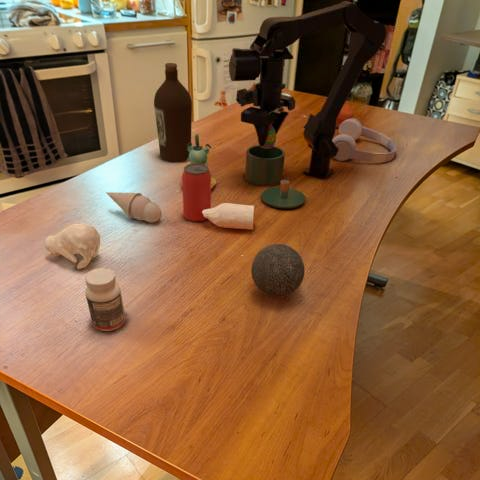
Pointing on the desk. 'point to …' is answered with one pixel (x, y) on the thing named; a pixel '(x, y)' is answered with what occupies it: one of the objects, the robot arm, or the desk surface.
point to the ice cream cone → (137, 206)
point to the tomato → (344, 114)
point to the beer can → (196, 191)
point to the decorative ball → (277, 270)
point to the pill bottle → (104, 299)
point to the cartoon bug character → (199, 155)
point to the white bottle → (231, 215)
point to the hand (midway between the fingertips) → (266, 142)
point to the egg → (270, 139)
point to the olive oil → (173, 117)
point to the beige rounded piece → (75, 243)
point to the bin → (264, 165)
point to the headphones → (347, 145)
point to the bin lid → (283, 196)
